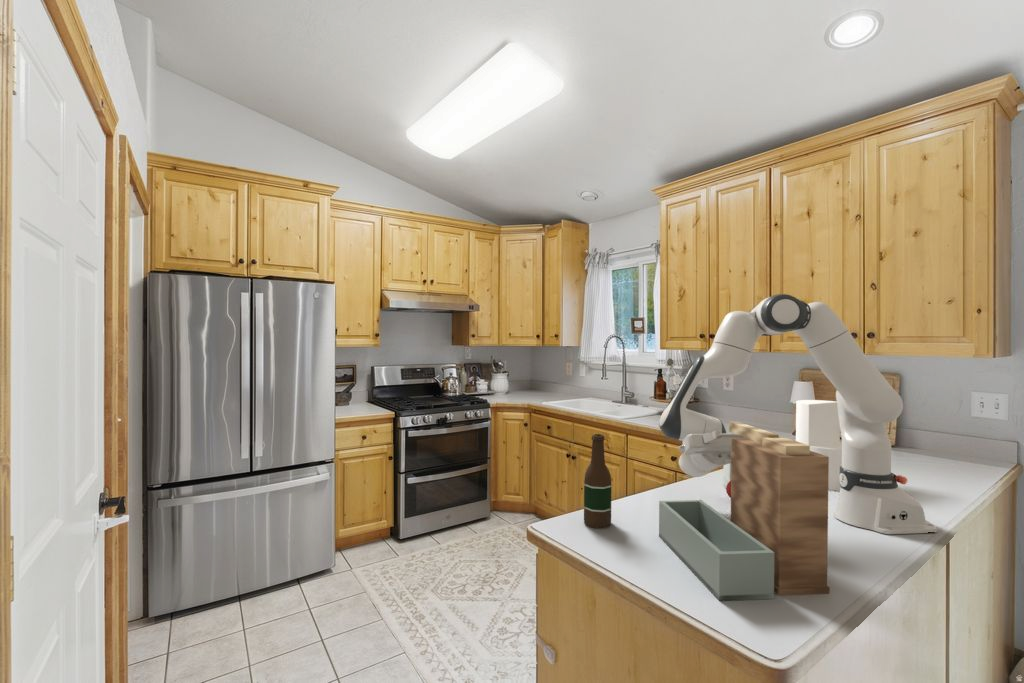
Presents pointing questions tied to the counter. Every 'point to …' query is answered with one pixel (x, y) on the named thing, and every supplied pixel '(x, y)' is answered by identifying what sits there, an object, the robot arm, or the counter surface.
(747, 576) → the bin
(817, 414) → the white rectangular block
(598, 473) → the beer bottle
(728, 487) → the red round fruit
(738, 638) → the counter surface
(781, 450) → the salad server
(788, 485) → the stand
